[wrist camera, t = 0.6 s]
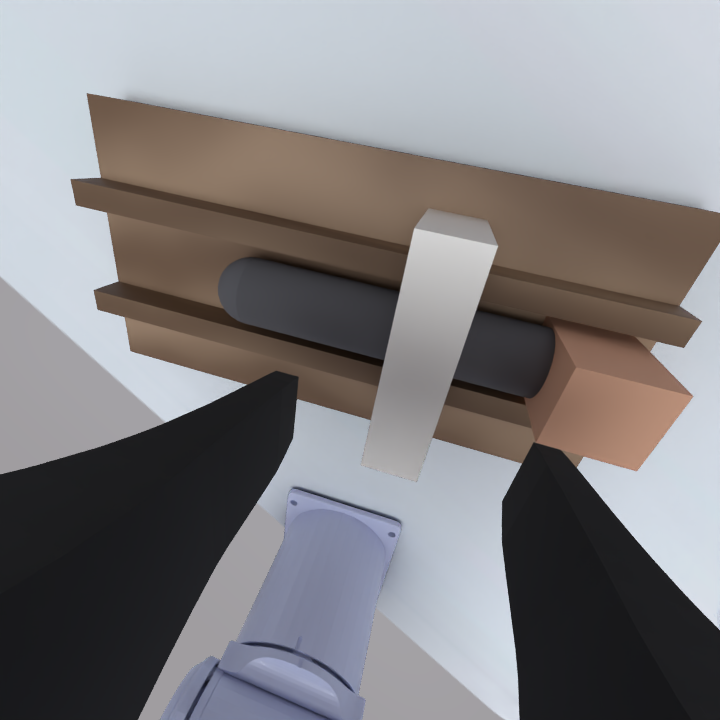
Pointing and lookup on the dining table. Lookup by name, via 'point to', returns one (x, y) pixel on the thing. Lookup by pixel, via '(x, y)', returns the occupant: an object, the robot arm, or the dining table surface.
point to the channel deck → (365, 251)
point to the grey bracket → (427, 337)
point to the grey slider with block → (485, 357)
